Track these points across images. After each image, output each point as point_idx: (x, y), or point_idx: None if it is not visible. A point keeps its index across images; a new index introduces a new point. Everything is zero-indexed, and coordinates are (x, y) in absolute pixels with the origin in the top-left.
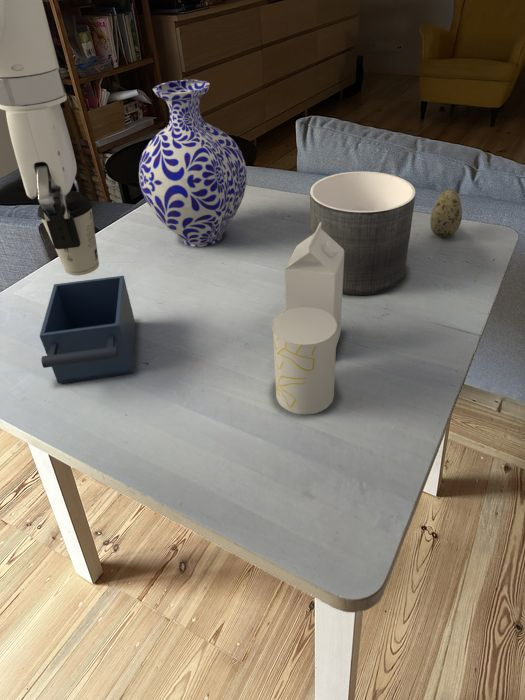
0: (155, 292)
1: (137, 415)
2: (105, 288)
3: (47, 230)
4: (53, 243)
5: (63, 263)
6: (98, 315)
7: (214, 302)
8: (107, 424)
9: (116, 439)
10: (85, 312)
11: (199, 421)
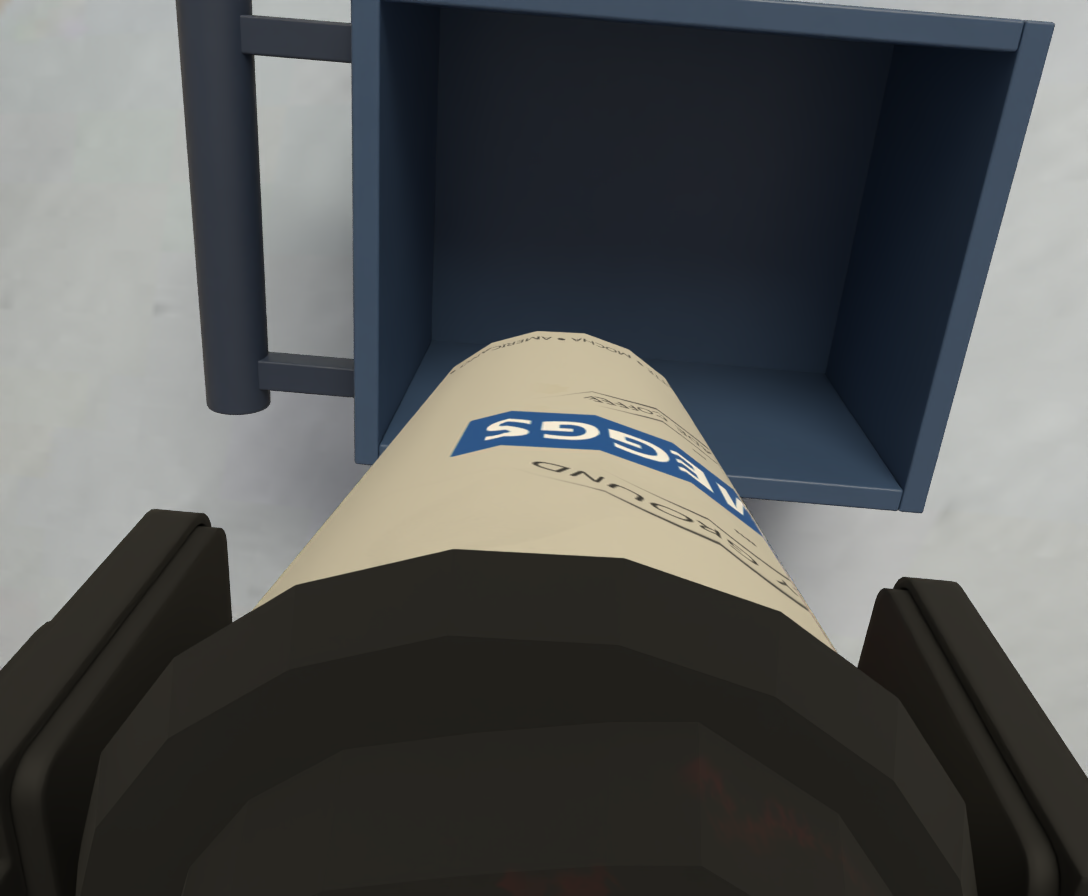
0: (1067, 499)
1: (150, 352)
2: (909, 365)
3: (365, 514)
4: (127, 538)
5: (450, 383)
6: (875, 231)
7: None
8: (111, 230)
9: (23, 264)
10: (898, 167)
11: (93, 558)
